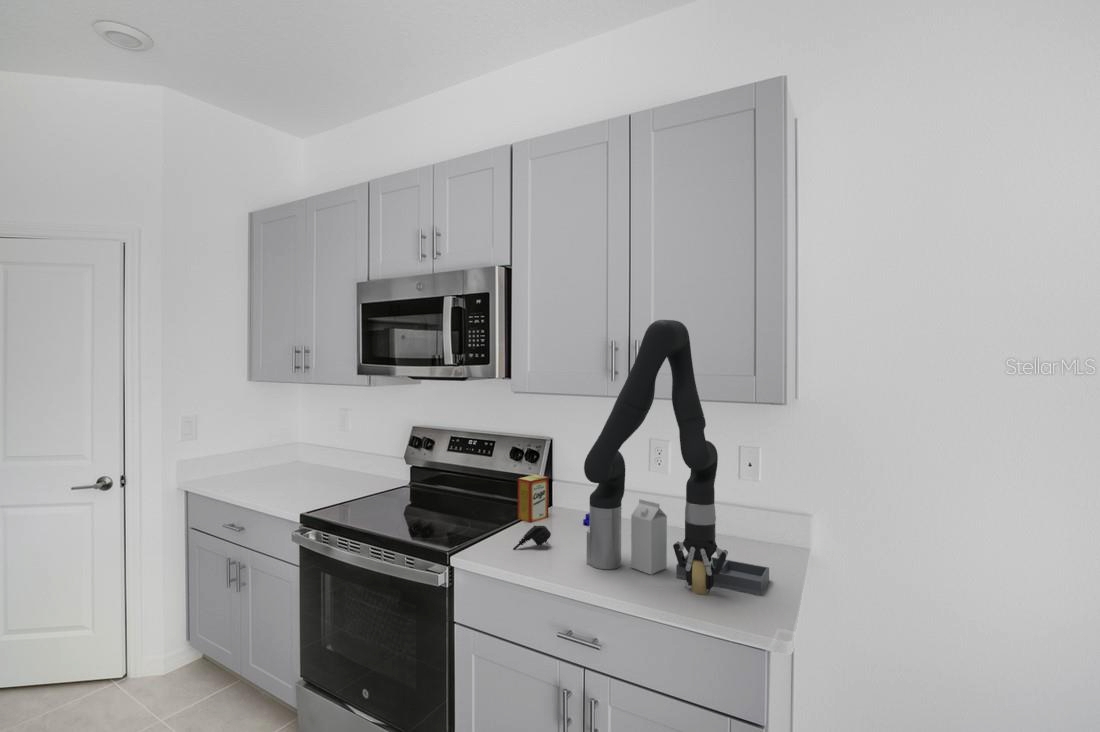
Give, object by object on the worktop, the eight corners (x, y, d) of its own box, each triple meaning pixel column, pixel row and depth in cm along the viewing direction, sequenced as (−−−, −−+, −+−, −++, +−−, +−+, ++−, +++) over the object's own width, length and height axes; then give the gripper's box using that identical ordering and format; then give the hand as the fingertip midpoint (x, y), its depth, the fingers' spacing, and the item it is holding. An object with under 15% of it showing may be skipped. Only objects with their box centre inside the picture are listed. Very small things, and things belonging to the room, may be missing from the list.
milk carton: (646, 562, 160) (647, 497, 160) (666, 569, 154) (667, 501, 154) (631, 568, 155) (631, 501, 155) (651, 575, 150) (651, 506, 150)
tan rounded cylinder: (689, 592, 139) (689, 560, 139) (694, 586, 142) (694, 556, 142) (705, 595, 137) (705, 563, 137) (709, 590, 140) (709, 559, 140)
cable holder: (583, 526, 195) (583, 515, 195) (588, 524, 198) (588, 513, 198) (602, 530, 190) (602, 519, 190) (607, 528, 193) (607, 516, 193)
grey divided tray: (676, 577, 148) (676, 564, 148) (688, 564, 158) (688, 552, 158) (761, 595, 137) (761, 581, 137) (769, 580, 146) (769, 567, 146)
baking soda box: (530, 524, 197) (530, 480, 197) (517, 520, 202) (517, 477, 201) (548, 519, 204) (548, 476, 204) (535, 515, 208) (536, 473, 208)
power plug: (510, 544, 172) (539, 518, 175) (524, 562, 173) (553, 536, 176) (513, 550, 167) (543, 523, 169) (528, 568, 168) (558, 541, 171)
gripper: (668, 518, 140) (667, 585, 140) (724, 527, 132) (724, 598, 132) (677, 512, 146) (677, 576, 146) (732, 520, 139) (731, 587, 139)
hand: (699, 586), depth 139 cm, fingers closed on tan rounded cylinder, 4 cm apart
